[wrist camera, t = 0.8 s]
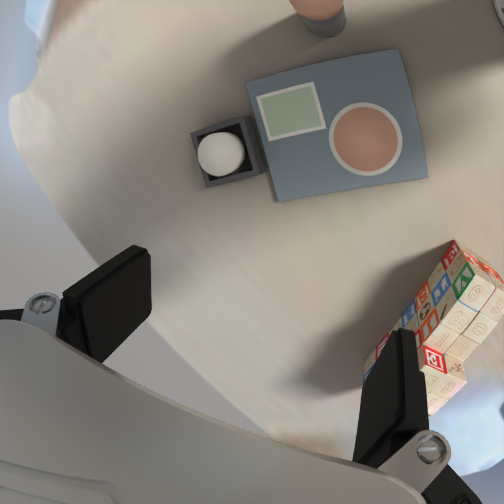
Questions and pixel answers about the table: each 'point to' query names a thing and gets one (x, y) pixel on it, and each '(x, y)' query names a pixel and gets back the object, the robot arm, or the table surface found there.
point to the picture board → (338, 125)
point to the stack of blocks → (450, 320)
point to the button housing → (250, 144)
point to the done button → (221, 153)
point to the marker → (321, 16)
